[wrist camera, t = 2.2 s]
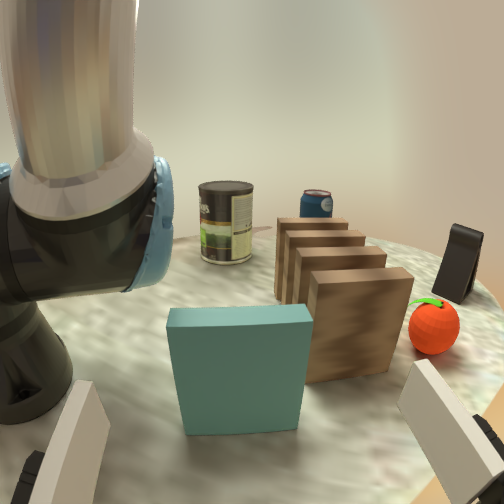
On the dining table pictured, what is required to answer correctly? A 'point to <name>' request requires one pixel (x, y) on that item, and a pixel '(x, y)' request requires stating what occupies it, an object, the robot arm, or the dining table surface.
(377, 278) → the walnut domino
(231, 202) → the coffee can
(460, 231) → the phone stand
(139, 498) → the dining table surface
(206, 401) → the teal domino
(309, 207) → the soda can
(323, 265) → the walnut domino
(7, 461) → the dining table surface
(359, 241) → the walnut domino
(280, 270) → the walnut domino
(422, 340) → the clementine
